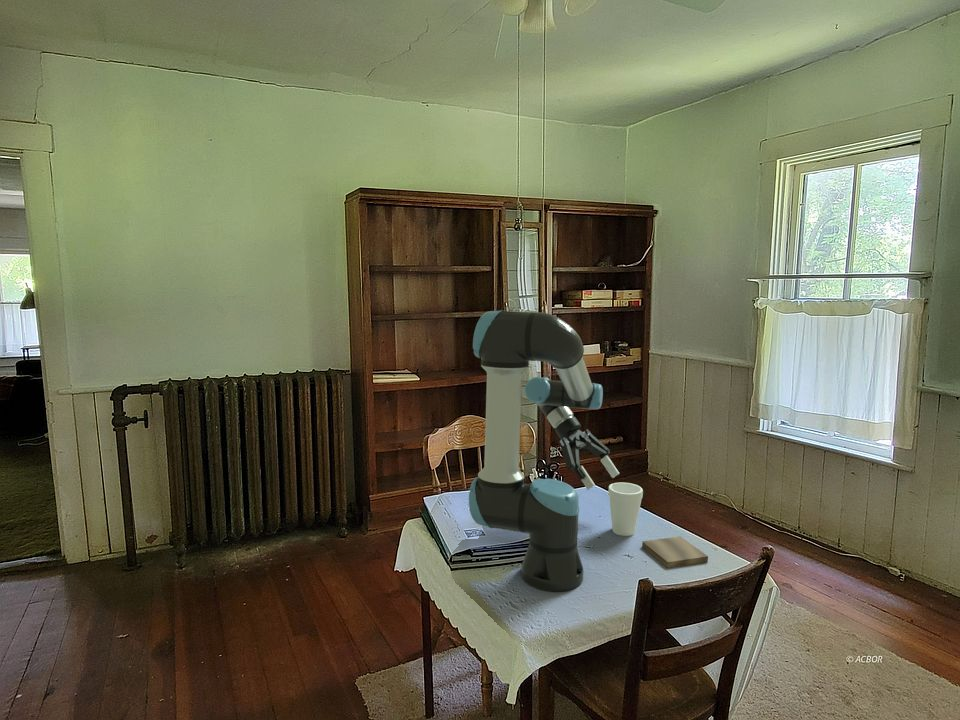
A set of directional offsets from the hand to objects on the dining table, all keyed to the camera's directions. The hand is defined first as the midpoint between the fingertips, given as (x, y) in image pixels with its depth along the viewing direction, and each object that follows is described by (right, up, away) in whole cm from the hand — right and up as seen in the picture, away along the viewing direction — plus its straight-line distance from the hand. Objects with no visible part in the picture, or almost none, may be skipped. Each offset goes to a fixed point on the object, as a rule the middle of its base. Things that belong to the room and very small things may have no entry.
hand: (604, 481), depth 178 cm
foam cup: (+5, -14, -4) cm, 15 cm away
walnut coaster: (+15, -16, -18) cm, 28 cm away
